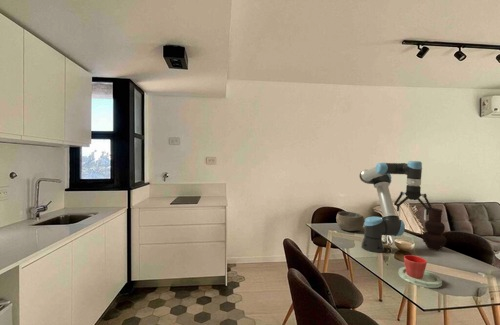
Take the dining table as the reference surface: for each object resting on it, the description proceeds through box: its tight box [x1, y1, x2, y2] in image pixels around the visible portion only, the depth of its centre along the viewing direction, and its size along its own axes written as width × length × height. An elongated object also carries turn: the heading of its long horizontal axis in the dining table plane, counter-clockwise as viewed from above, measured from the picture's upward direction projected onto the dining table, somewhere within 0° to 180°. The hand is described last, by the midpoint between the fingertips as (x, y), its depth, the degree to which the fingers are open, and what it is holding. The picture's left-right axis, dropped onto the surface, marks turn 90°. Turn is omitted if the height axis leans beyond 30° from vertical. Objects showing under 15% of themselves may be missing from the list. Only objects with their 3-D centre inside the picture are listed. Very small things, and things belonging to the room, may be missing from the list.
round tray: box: [398, 266, 443, 289], centre depth 136 cm, size 20×20×2 cm
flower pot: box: [403, 254, 428, 279], centre depth 137 cm, size 11×11×10 cm
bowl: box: [335, 211, 365, 232], centre depth 227 cm, size 24×24×15 cm
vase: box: [421, 207, 448, 251], centre depth 184 cm, size 15×15×30 cm
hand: (411, 218), depth 155 cm, fingers open, 13 cm apart
